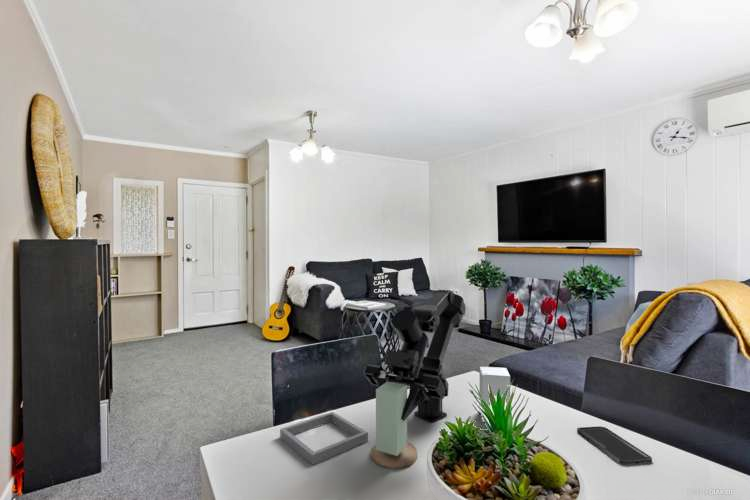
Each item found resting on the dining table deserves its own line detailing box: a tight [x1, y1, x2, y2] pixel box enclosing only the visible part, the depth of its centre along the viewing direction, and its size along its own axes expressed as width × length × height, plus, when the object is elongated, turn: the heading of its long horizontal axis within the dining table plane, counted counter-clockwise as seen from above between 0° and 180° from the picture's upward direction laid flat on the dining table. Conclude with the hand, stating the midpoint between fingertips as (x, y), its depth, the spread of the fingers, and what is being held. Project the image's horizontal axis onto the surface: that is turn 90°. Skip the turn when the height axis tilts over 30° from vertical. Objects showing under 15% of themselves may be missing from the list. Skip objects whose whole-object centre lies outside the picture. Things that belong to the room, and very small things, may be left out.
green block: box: [375, 382, 408, 456], centre depth 82 cm, size 5×5×13 cm
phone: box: [576, 425, 653, 466], centre depth 87 cm, size 8×1×15 cm
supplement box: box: [478, 366, 511, 423], centre depth 101 cm, size 7×7×13 cm
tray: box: [279, 411, 369, 465], centre depth 90 cm, size 15×15×2 cm
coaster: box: [370, 441, 418, 470], centre depth 83 cm, size 10×10×1 cm
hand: (391, 417), depth 82 cm, fingers closed on green block, 5 cm apart
